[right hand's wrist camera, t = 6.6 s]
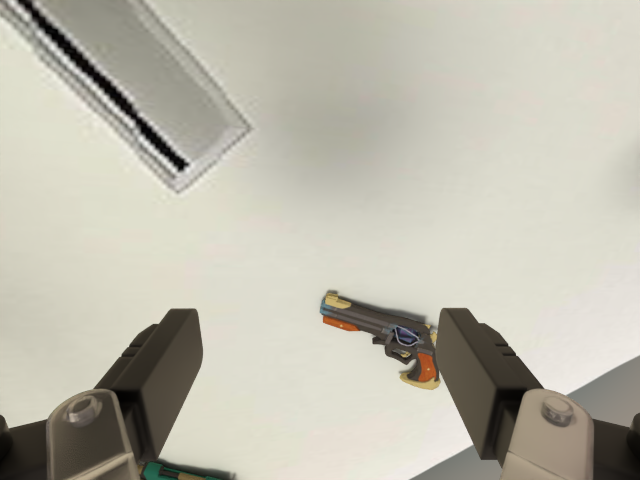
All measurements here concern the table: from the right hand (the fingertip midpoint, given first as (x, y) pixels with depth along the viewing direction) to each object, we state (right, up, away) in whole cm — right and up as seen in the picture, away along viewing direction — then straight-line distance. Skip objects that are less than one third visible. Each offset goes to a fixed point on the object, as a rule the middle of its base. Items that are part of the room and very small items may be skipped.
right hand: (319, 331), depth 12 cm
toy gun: (+8, -10, +36) cm, 38 cm away
